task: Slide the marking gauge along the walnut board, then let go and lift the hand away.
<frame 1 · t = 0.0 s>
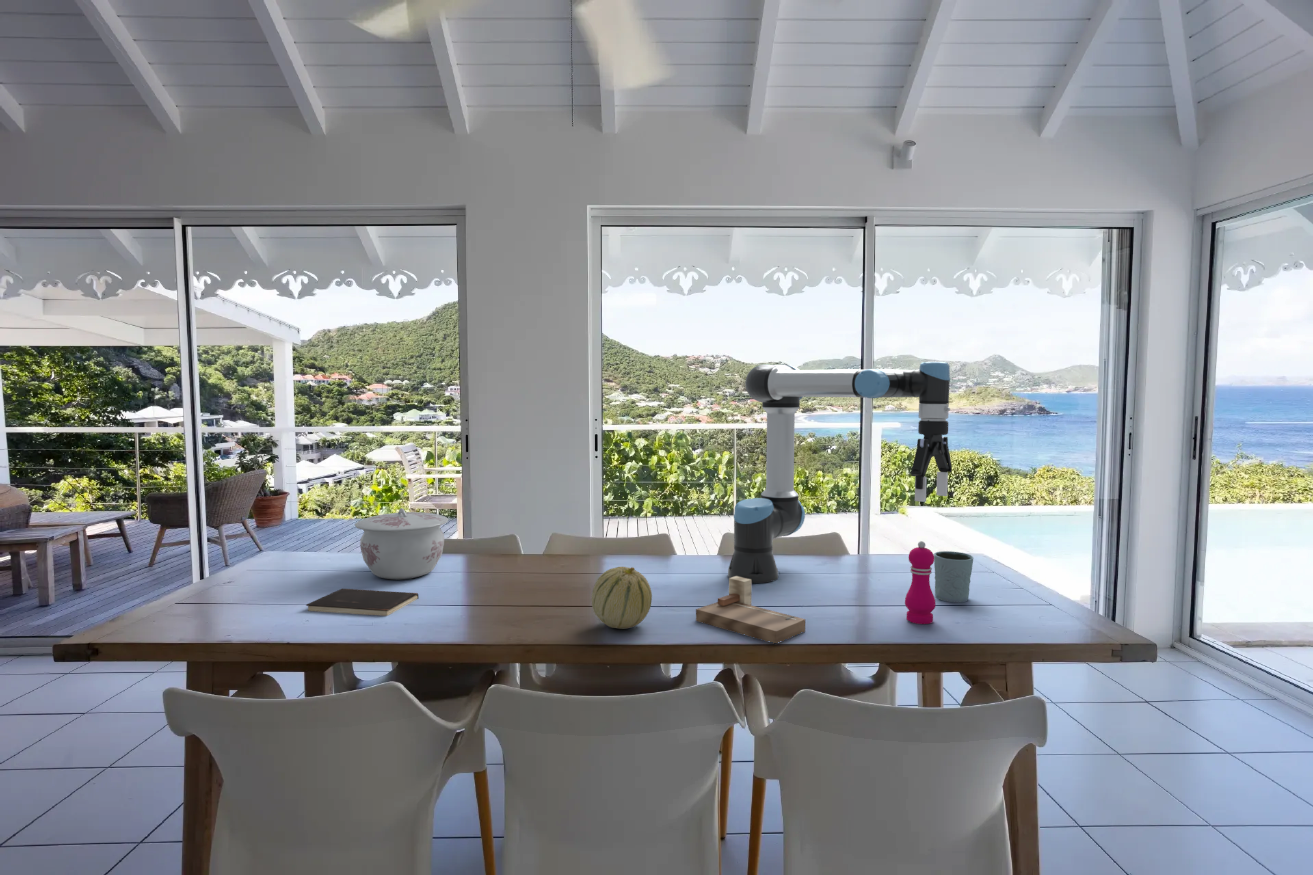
hand: (931, 498, 201), 28 cm above the table, tool pointing down, fingers open, 13 cm apart
pepper mill: (919, 621, 186), on the table
green ceramic cup: (952, 598, 206), on the table
walnut board: (749, 626, 182), on the table
chamber pot: (404, 574, 231), on the table
marking gauge: (734, 595, 192), point 4 cm above the table, slide at 0.0 cm
cantaloupe: (621, 627, 181), on the table
hardcover book: (364, 607, 200), on the table
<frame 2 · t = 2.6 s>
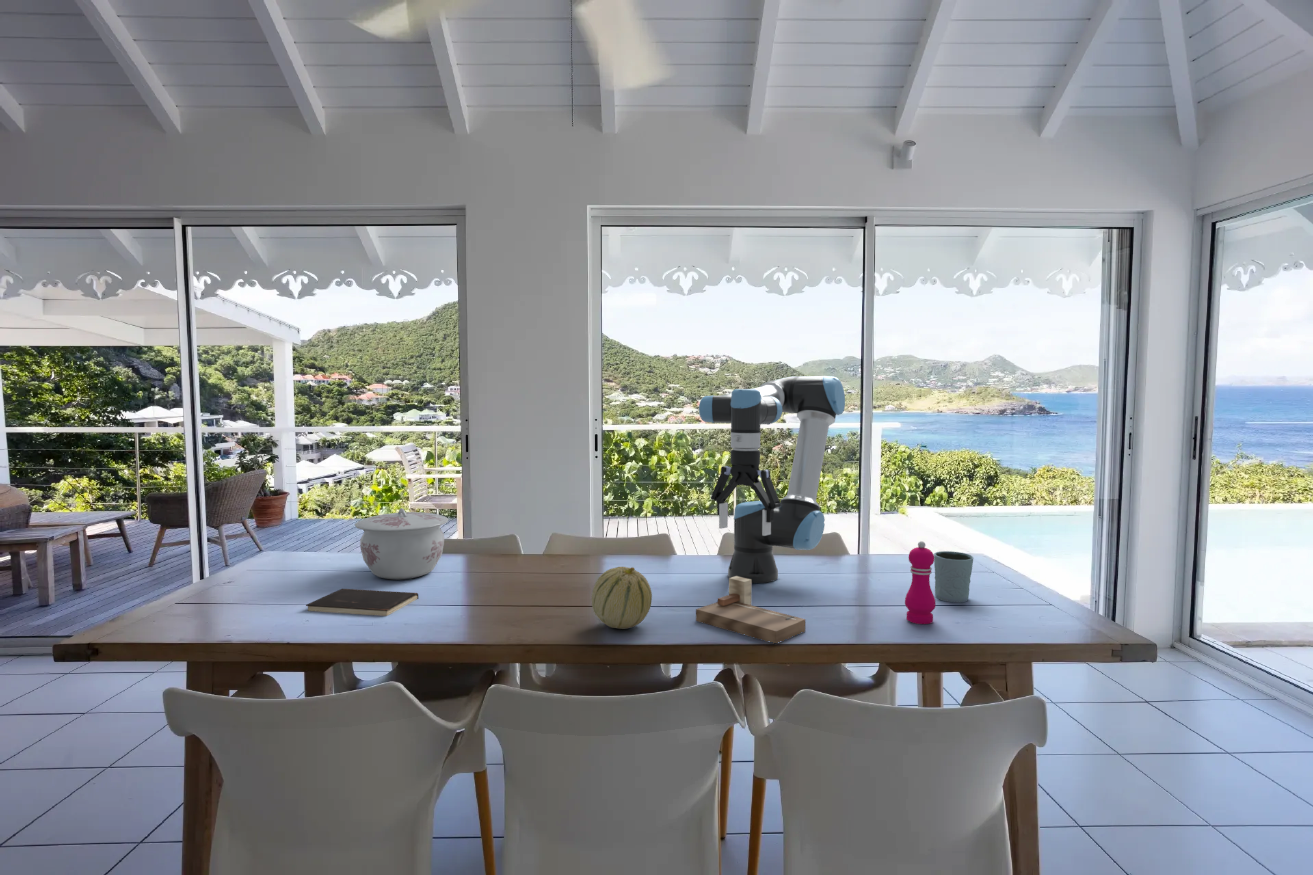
hand: (744, 531, 192), 21 cm above the table, tool pointing down, fingers open, 13 cm apart
nothing on the table moved.
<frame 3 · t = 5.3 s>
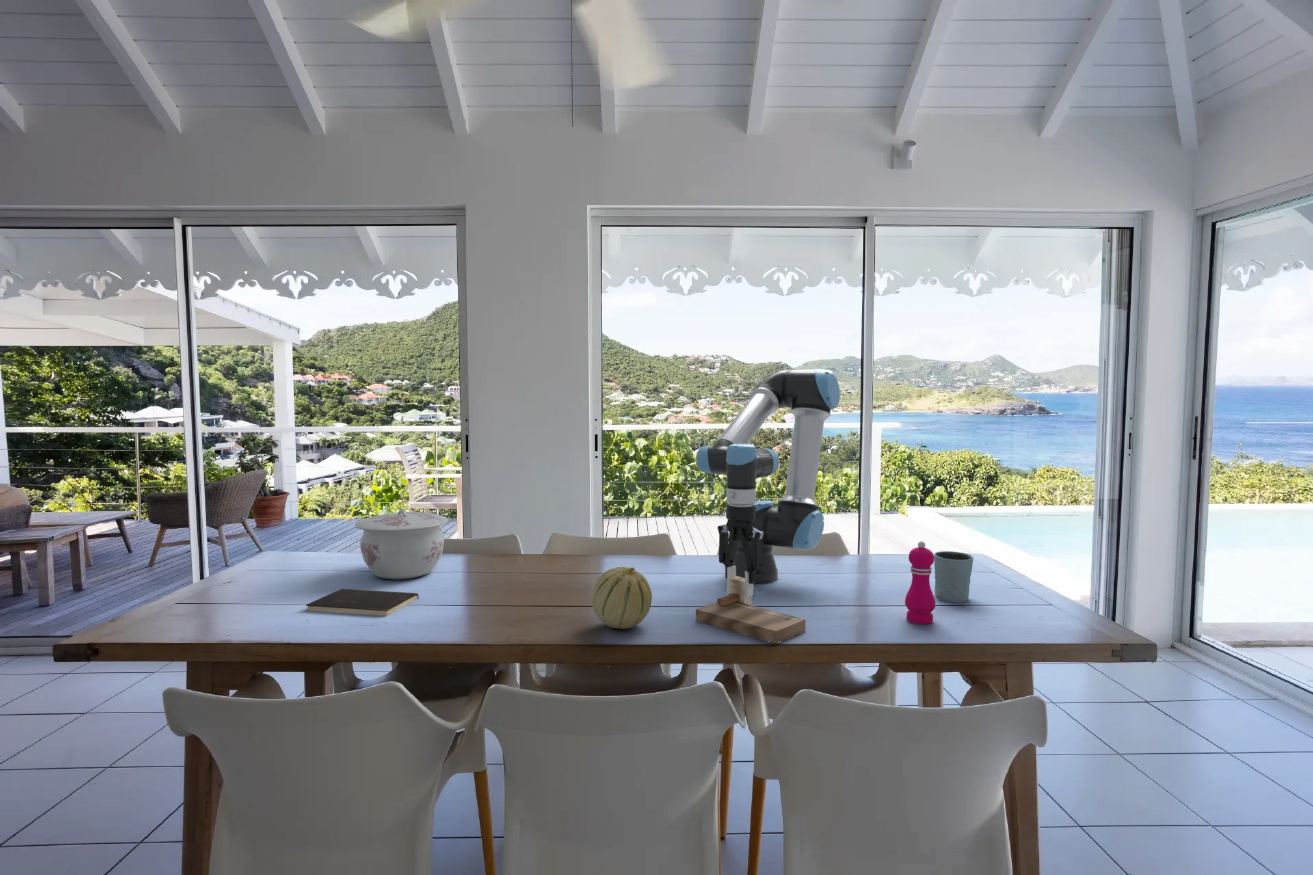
hand: (740, 593, 193), 5 cm above the table, tool pointing down, fingers closed on marking gauge, 5 cm apart
marking gauge: (734, 595, 192), point 5 cm above the table, slide at 0.0 cm, touching gripper
everything else where it was.
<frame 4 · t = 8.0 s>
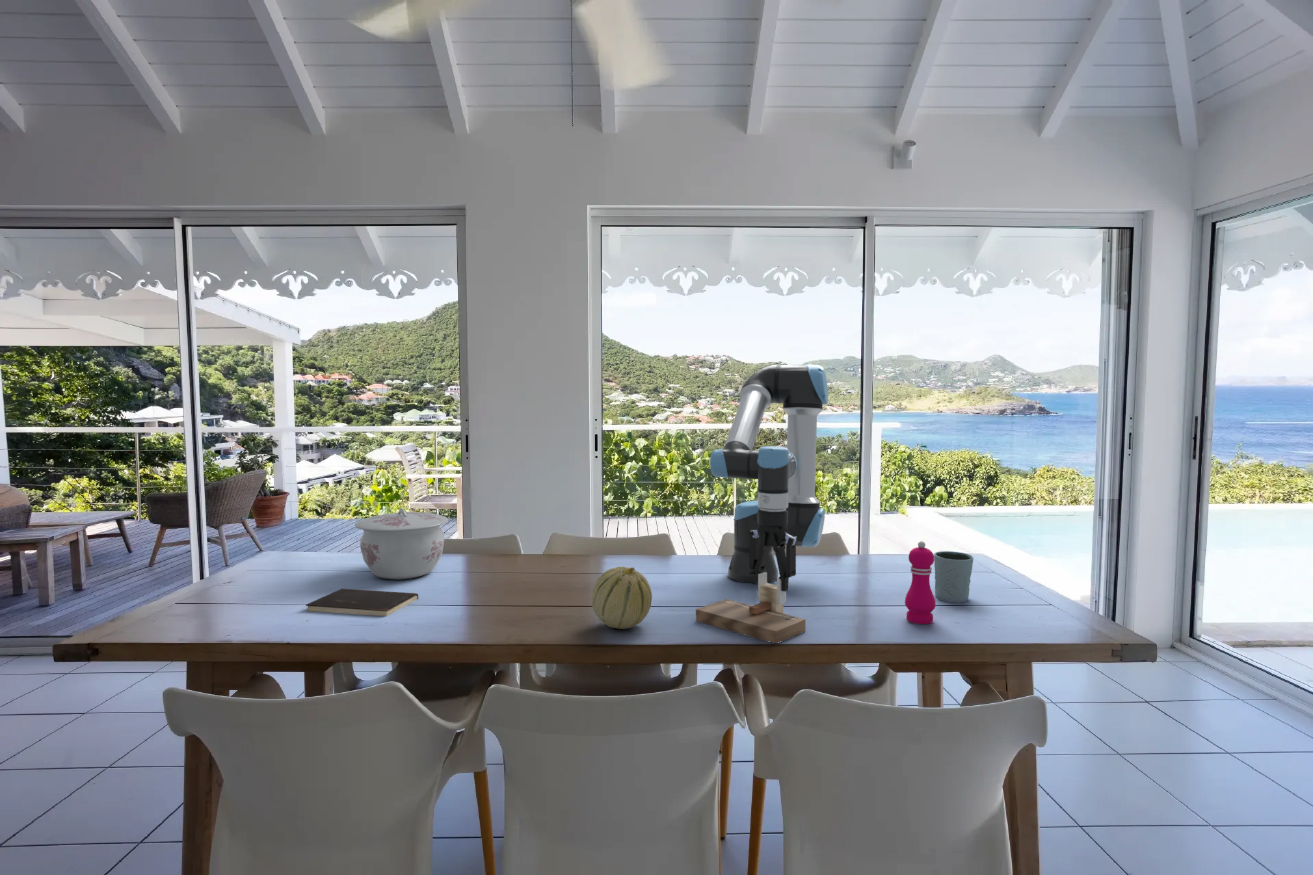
hand: (771, 600, 187), 5 cm above the table, tool pointing down, fingers closed on marking gauge, 5 cm apart
marking gauge: (765, 603, 185), point 5 cm above the table, slide at 9.9 cm, touching gripper
everything else where it was.
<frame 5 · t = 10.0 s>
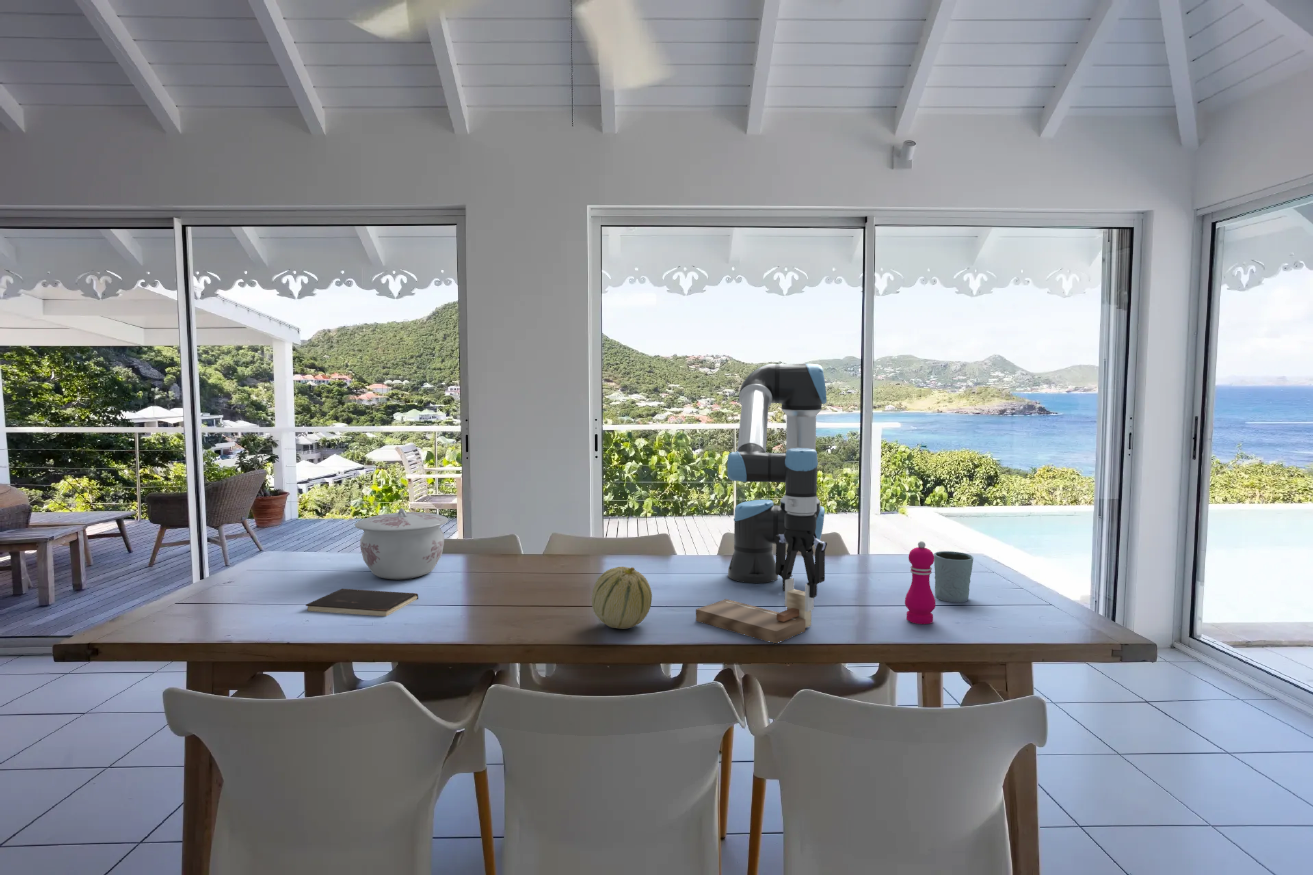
hand: (799, 607, 181), 5 cm above the table, tool pointing down, fingers closed on marking gauge, 5 cm apart
marking gauge: (793, 610, 179), point 5 cm above the table, slide at 17.9 cm, touching gripper
everything else where it was.
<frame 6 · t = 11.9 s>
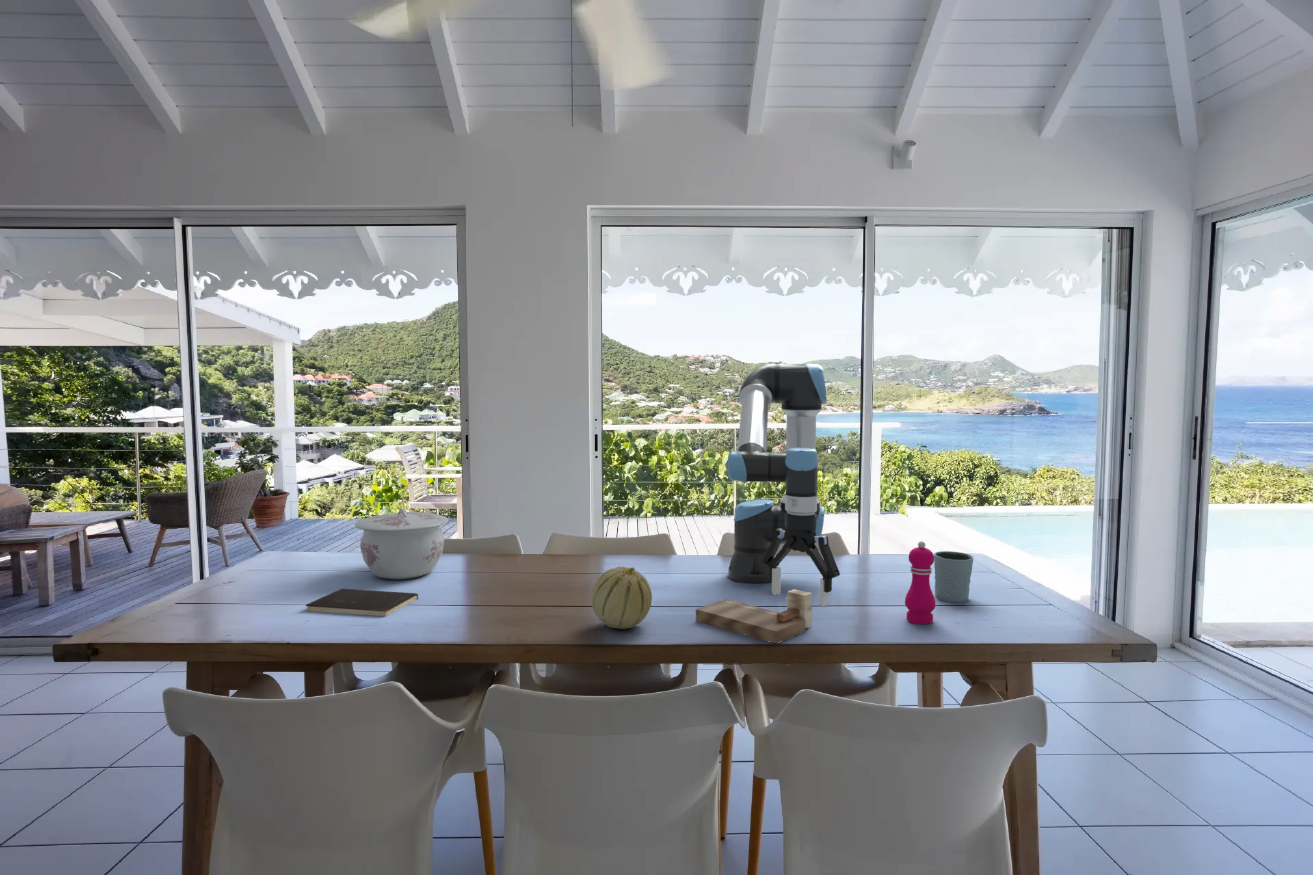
hand: (799, 599, 181), 7 cm above the table, tool pointing down, fingers open, 13 cm apart
marking gauge: (793, 610, 179), point 5 cm above the table, slide at 18.0 cm
everything else where it was.
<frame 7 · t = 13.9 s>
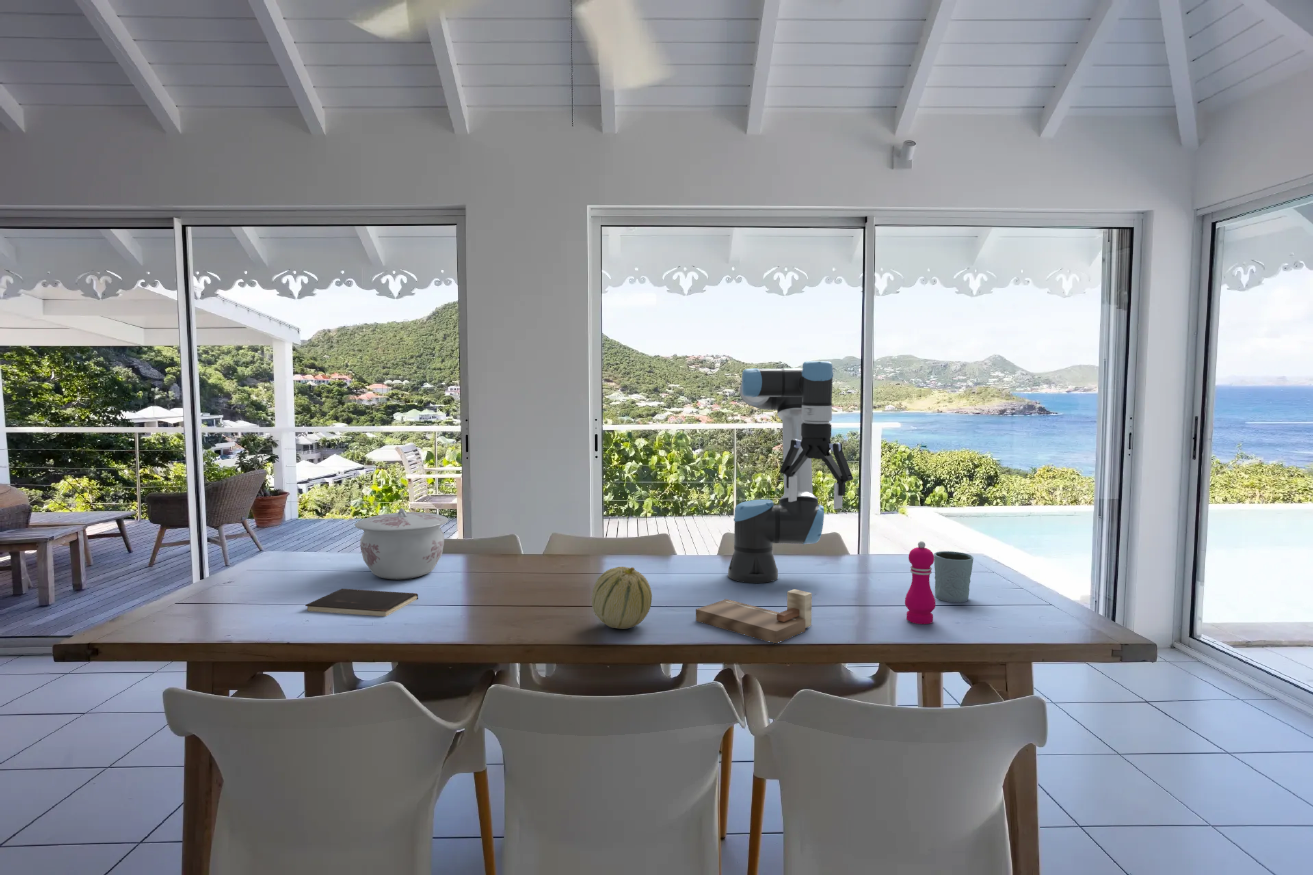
hand: (814, 504, 192), 28 cm above the table, tool pointing down, fingers open, 13 cm apart
nothing on the table moved.
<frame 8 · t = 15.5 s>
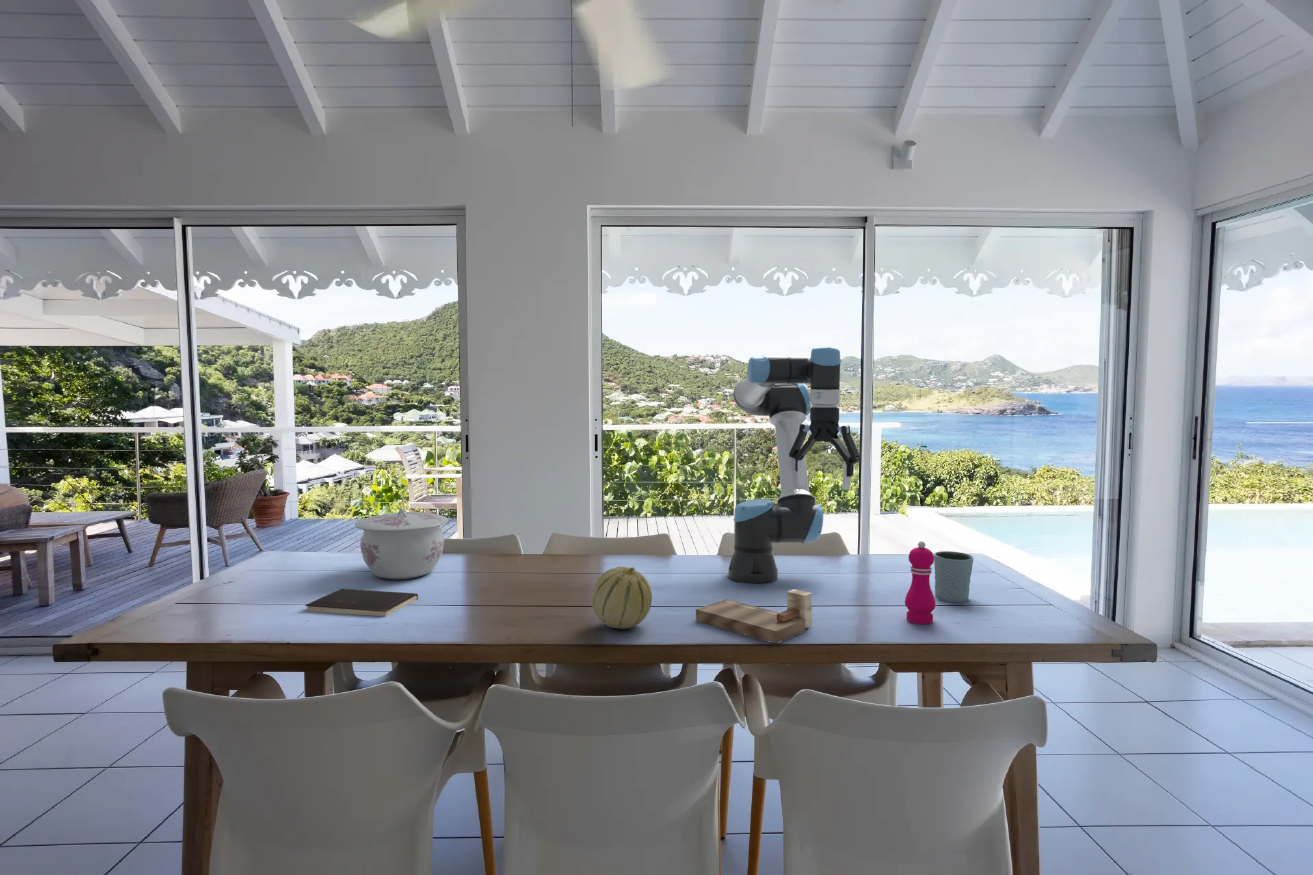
hand: (823, 486, 198), 32 cm above the table, tool pointing down, fingers open, 13 cm apart
nothing on the table moved.
at the end: marking gauge slide at 18.0 cm; the gripper is holding nothing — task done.
